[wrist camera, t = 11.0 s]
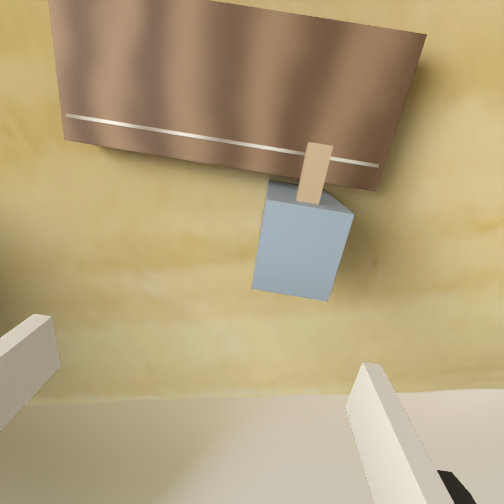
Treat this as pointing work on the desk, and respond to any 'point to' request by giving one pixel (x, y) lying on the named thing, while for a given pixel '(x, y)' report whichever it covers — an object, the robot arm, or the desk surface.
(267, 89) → the plank
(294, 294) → the pale blue block
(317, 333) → the desk surface
